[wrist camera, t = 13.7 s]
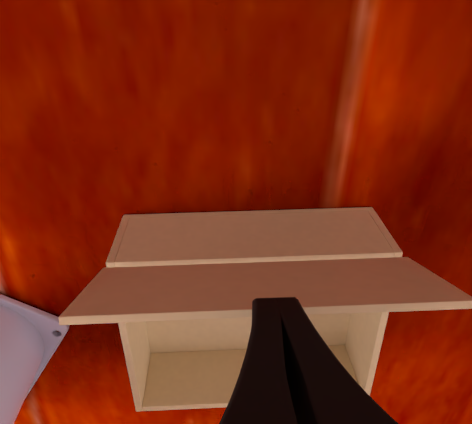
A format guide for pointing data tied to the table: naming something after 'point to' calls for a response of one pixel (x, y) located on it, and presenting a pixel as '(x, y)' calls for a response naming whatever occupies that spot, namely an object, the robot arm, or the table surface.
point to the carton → (238, 329)
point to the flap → (260, 290)
